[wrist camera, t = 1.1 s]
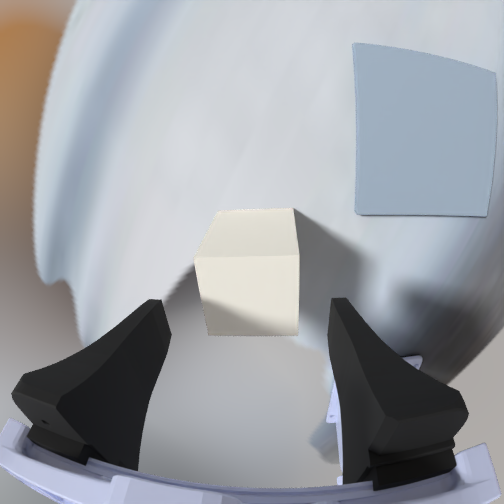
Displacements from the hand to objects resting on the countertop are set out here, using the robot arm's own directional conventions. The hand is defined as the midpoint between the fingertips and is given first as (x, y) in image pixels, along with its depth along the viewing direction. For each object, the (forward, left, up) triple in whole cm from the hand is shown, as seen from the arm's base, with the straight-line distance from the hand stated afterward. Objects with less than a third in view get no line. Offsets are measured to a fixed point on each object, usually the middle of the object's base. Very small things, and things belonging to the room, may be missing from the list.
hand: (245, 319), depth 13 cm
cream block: (0, 0, -7) cm, 7 cm away
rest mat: (+7, -11, -7) cm, 15 cm away
